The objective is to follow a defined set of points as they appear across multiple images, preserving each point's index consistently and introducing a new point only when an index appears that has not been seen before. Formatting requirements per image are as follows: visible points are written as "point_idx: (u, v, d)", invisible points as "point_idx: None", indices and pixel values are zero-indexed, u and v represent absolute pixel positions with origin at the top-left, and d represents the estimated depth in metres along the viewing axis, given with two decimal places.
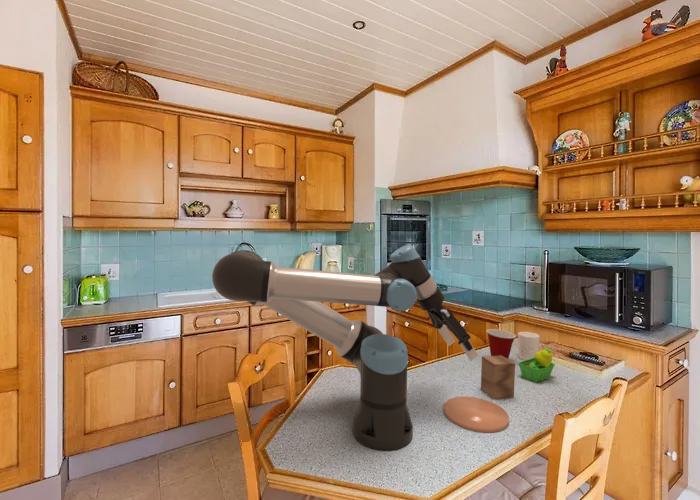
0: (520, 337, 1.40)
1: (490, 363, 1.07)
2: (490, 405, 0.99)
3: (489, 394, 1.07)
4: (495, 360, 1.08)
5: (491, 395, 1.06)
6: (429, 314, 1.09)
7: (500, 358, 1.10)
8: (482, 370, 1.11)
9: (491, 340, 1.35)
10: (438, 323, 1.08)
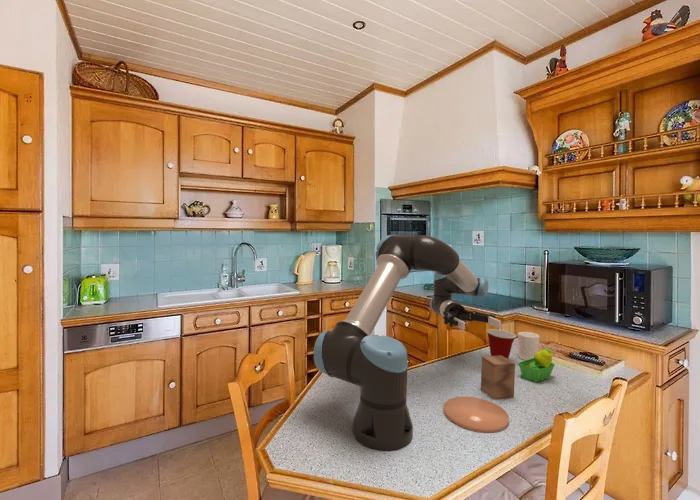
0: (520, 337, 1.40)
1: (490, 363, 1.07)
2: (490, 405, 0.99)
3: (489, 394, 1.07)
4: (495, 360, 1.08)
5: (491, 395, 1.06)
6: (447, 314, 1.29)
7: (500, 358, 1.10)
8: (482, 370, 1.11)
9: (491, 340, 1.35)
10: (454, 318, 1.25)
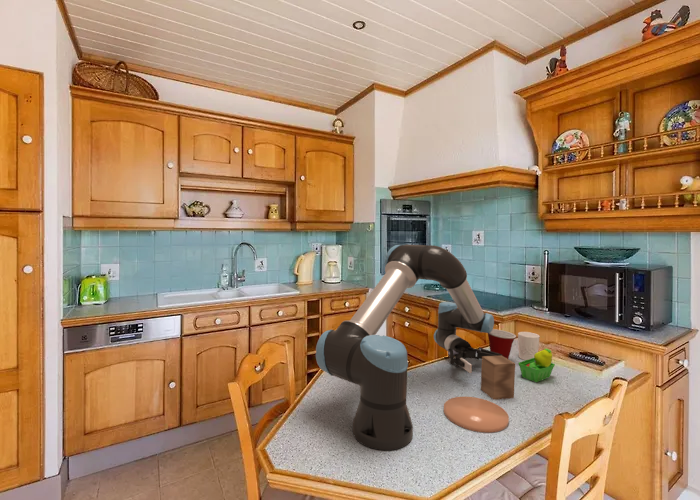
0: (520, 337, 1.40)
1: (490, 363, 1.07)
2: (490, 405, 0.99)
3: (489, 394, 1.07)
4: (495, 360, 1.08)
5: (491, 395, 1.06)
6: (453, 352, 1.25)
7: (500, 358, 1.10)
8: (482, 370, 1.11)
9: (491, 340, 1.35)
10: (460, 357, 1.22)
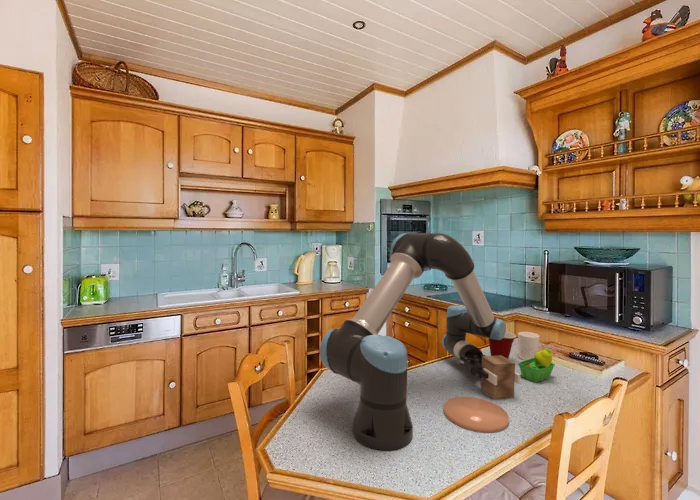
0: (520, 337, 1.40)
1: (490, 363, 1.07)
2: (490, 405, 0.99)
3: (489, 394, 1.07)
4: (495, 360, 1.08)
5: (491, 395, 1.06)
6: (468, 361, 1.16)
7: (500, 358, 1.10)
8: None
9: (491, 340, 1.35)
10: None
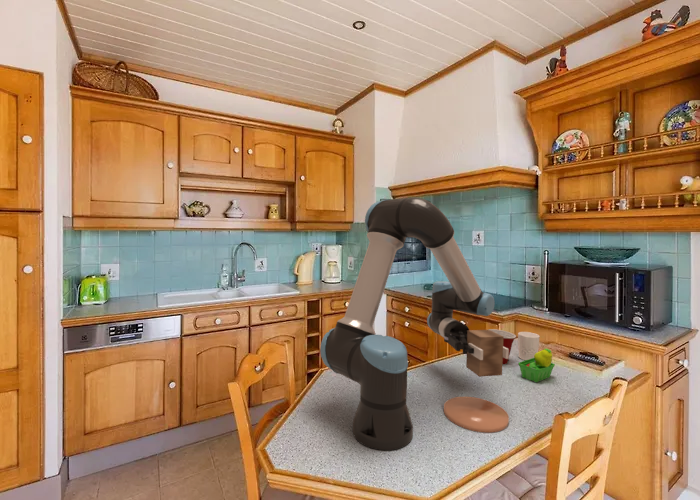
0: (520, 337, 1.40)
1: (476, 336, 0.97)
2: (490, 405, 0.99)
3: (475, 371, 0.97)
4: (482, 334, 0.98)
5: (477, 371, 0.96)
6: (453, 336, 1.06)
7: (487, 332, 1.00)
8: None
9: None
10: None
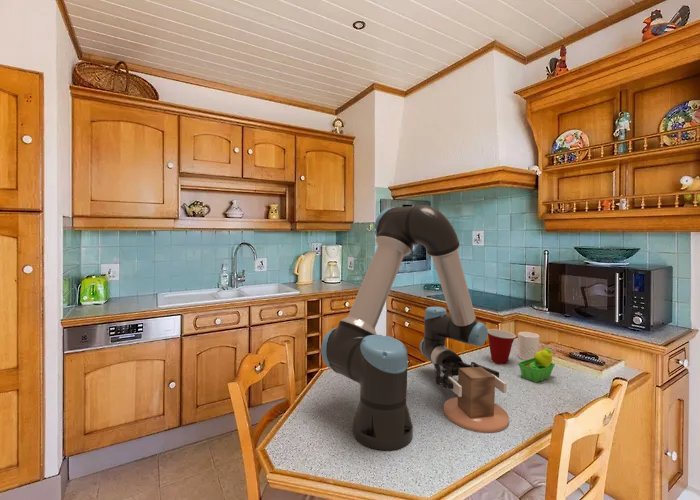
0: (520, 337, 1.40)
1: (467, 376, 0.93)
2: None
3: (466, 412, 0.94)
4: (473, 373, 0.95)
5: (468, 413, 0.93)
6: (440, 368, 1.03)
7: (479, 370, 0.96)
8: (459, 384, 0.98)
9: (491, 340, 1.35)
10: (449, 376, 1.00)
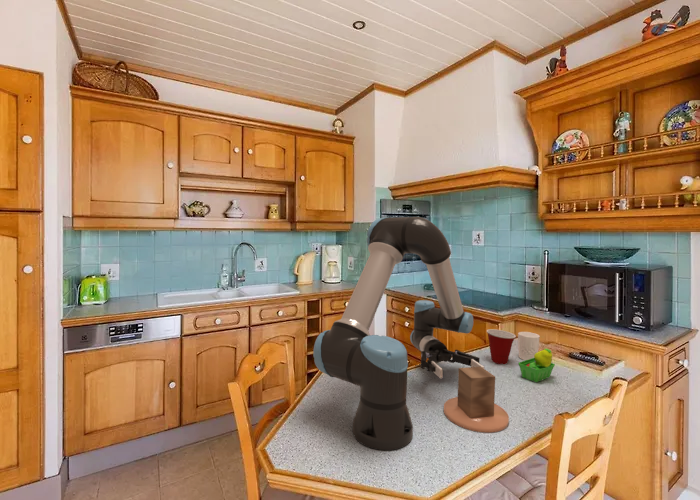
0: (520, 337, 1.40)
1: (467, 376, 0.93)
2: None
3: (466, 412, 0.94)
4: (473, 373, 0.95)
5: (468, 413, 0.93)
6: (425, 355, 1.15)
7: (479, 370, 0.96)
8: (459, 384, 0.98)
9: (491, 340, 1.35)
10: (433, 361, 1.11)
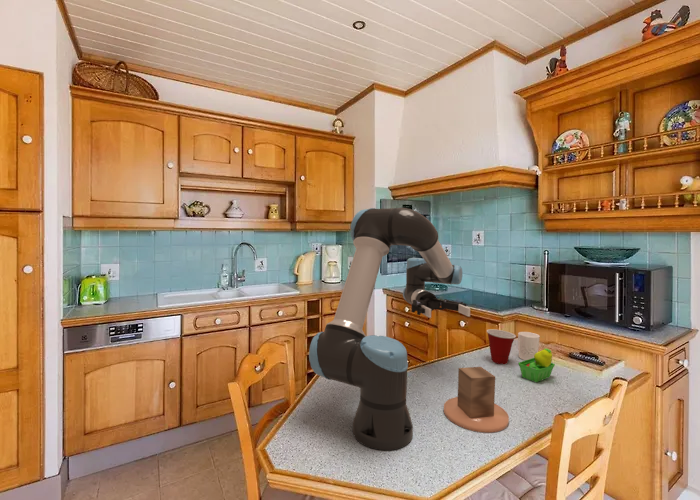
0: (520, 337, 1.40)
1: (467, 376, 0.93)
2: None
3: (466, 412, 0.94)
4: (473, 373, 0.95)
5: (468, 413, 0.93)
6: (416, 302, 1.22)
7: (479, 370, 0.96)
8: (459, 384, 0.98)
9: (491, 340, 1.35)
10: None
